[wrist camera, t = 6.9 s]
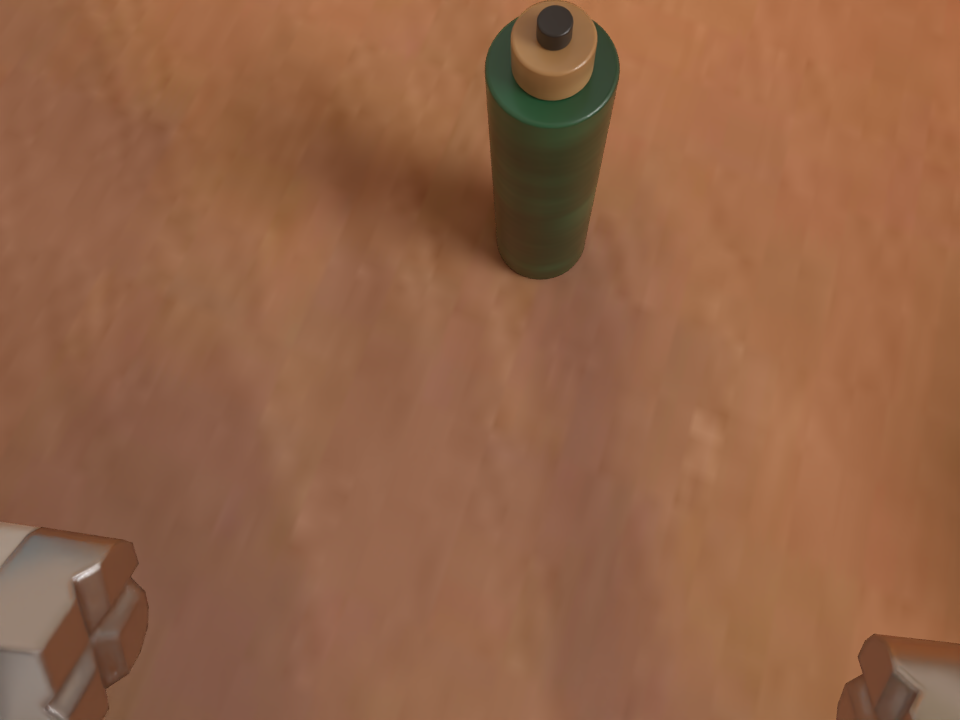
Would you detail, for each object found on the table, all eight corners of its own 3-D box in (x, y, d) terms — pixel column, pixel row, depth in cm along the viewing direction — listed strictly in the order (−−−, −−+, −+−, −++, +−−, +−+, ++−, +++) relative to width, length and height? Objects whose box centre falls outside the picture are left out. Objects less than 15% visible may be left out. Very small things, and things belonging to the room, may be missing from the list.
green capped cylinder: (518, 293, 26) (518, 108, 15) (482, 218, 27) (458, -10, 16) (599, 258, 26) (655, 50, 16) (561, 184, 27) (590, -65, 16)
